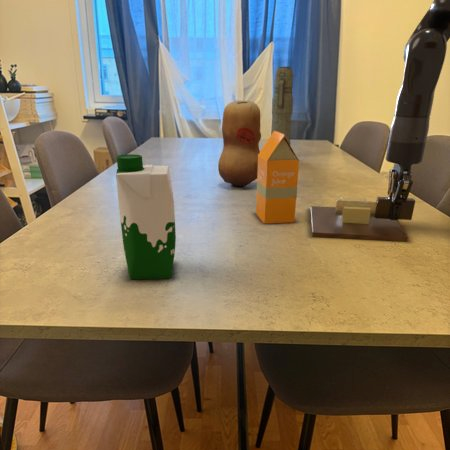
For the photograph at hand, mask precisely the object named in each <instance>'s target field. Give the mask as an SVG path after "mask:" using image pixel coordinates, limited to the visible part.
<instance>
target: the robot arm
mask: <svg viewBox="0 0 450 450" xmlns="http://www.w3.org/2000/svg"><path fill="white" fill-rule="evenodd" d="M449 40H450V0H433V1H432V3H431V5H430V6H429V8H428V10H427V11H426V12H425V14H424V15H423V16H422V18H421V19H420V21H419V23H418V24H417V25H416V28H414V30H413V32H412V33H411V35H410V37H409V38H408V39H407V42H406V43H405V46H404V49H403V62H404V63H405V66H404V72H403V78H402V84H401V87H400V88H399V91H398V93H397V97H396V104H395V109H394V113H393V118H392V123H391V126H390V129H389V130H390V131H389V136H388V143H387V148H386V154H385V161H387V162H388V163H391V164H393V167H392V169H389V171H388V173H389V175H388V183H387V184H388V186H387V195H388V196H387V197H392V200H391V208H390V214H389V219H390V220H397V221H399V218H400V213H401V208H402V204H403V203H406V201H407V198H409V194H410V192H411V189H412V187H413V180H412V179H413V172H412V171H411V170H412V166H413V165H419V164H421V163H422V162H423V159H424V153H425V149H426V144H427V139H428V135H429V130H430V119H431V114H432V109H433V105H434V98H435V91H436V88H437V85H438V82H439V79H440V76H441V73H442V70H443V67H444V63H445V59H446V56H447V48H448V41H449Z"/></svg>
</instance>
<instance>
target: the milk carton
mask: <svg viewBox="0 0 450 450" xmlns="http://www.w3.org/2000/svg"><path fill="white" fill-rule="evenodd" d="M116 164H117V166H116V167H117V169H116V175H115V179H116V189H117V201H118V209H119V210H118V211H119V218H120V219H119V220H120V228H121V236H122V245H123V253H124V257H125V261H126V266H127V271H128V276H129V280H152V279H153V280H156V279H171V278H172V273H173V268H174V267H173V266H174V260H175V253H176V243H177V242H176V240H177V236H176V235H177V234H176V215H175V213H176V212H175V200H174V199H175V198H174V190H173V185H172V184H173V183H172V179H171V172H170V167H169V165H154V164H144V163H143V155H141V154H132V153H130V154H119V155H117V156H116Z"/></svg>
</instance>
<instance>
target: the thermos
mask: <svg viewBox="0 0 450 450" xmlns="http://www.w3.org/2000/svg"><path fill="white" fill-rule="evenodd" d="M293 88H294V71H293V68H292V67H291V66H279V67H276V71H275V74H274V91H273V96H272V101H271V115H272V122H271V123H272V125H271V134H272V133H273V132H274V131H277V132H279V133H282V134H284V136H285V137H286V139H287V141H288V142H289V144H290V145H291V138H290V137H291V122H292V115H293V111H294V109H293V108H294V97H293Z"/></svg>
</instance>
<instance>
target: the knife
mask: <svg viewBox="0 0 450 450" xmlns="http://www.w3.org/2000/svg"><path fill="white" fill-rule="evenodd" d="M391 200H392V197H388V196H376V201H367V202H364V201H342V200H340V199H337V200H336V204H335V205H336V206H335V207H336V212H335V215H339V216H342V215H343V207H344V206H345V207H368V208H371V213H370V217H375V218H378V219H389V214H390V208H391ZM415 206H416V199H415V198H414V197H413V198H412V197H408V198H407V201H406V203H403V204H402V208H401V213H400V218H399V220H400V221H401V220H402V221H412V220H413V219H412V218H413V213H414V209H415ZM399 220H398V221H399Z"/></svg>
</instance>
